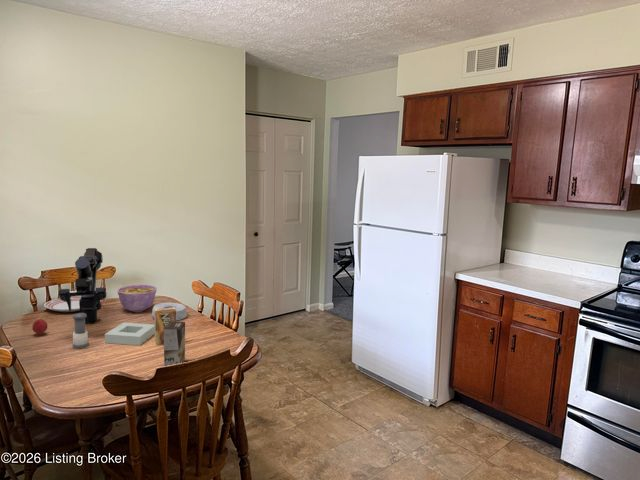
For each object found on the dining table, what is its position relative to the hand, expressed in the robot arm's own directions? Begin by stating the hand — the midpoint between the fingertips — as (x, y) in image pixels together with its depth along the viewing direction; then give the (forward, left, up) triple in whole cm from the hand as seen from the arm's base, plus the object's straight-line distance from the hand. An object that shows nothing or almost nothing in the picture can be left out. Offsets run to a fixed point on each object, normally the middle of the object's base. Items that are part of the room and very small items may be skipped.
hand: (81, 310), depth 196 cm
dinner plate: (-43, -32, -14) cm, 55 cm away
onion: (-2, -21, -14) cm, 25 cm away
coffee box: (+17, +50, -14) cm, 54 cm away
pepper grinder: (+7, +4, -13) cm, 16 cm away
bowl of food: (-46, +3, -14) cm, 48 cm away
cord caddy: (-6, +20, -13) cm, 25 cm away
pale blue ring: (-38, +24, -14) cm, 47 cm away
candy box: (-4, +37, -14) cm, 39 cm away
